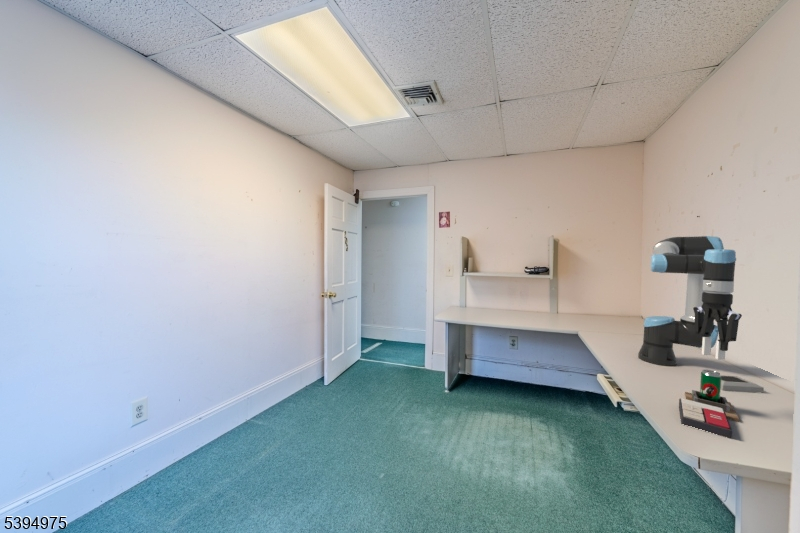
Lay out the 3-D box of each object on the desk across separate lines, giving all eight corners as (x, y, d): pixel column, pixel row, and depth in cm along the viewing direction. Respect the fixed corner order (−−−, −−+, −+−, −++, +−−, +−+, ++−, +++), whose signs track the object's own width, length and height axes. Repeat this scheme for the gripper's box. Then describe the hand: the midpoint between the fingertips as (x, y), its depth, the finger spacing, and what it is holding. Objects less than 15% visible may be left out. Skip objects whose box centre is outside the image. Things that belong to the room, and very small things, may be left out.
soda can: (723, 408, 103) (725, 375, 103) (706, 406, 105) (708, 373, 104) (711, 401, 108) (713, 369, 108) (695, 399, 109) (697, 368, 109)
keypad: (763, 384, 118) (723, 382, 120) (763, 393, 118) (722, 391, 120) (738, 375, 128) (701, 373, 129) (738, 383, 128) (701, 381, 129)
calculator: (681, 414, 95) (679, 395, 106) (680, 427, 95) (678, 407, 106) (732, 428, 87) (724, 406, 99) (731, 442, 88) (723, 419, 99)
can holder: (684, 394, 116) (685, 385, 116) (729, 404, 108) (730, 395, 108) (688, 409, 105) (689, 399, 104) (739, 422, 97) (739, 412, 97)
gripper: (683, 289, 113) (679, 349, 114) (736, 295, 96) (731, 365, 97) (701, 289, 113) (697, 349, 114) (757, 296, 96) (751, 365, 97)
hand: (712, 356), depth 106 cm, fingers open, 4 cm apart
